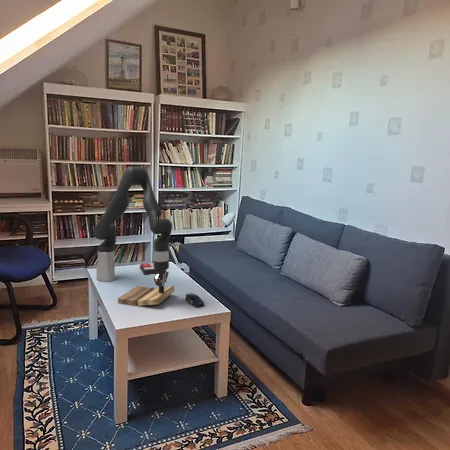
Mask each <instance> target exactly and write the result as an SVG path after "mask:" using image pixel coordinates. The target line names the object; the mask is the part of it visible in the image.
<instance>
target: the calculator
mask: <svg viewBox="0 0 450 450" xmlns="http://www.w3.org/2000/svg"><path fill="white" fill-rule="evenodd" d="M139 270H140V271H141V270H142V271H141V272H142V273H143V275H144V276H150V274H154V275H156V271H157V270H156V269H154V262H151V263H149V262H148V263H141V264H139Z"/></svg>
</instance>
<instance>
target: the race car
mask: <svg viewBox="0 0 450 450" xmlns="http://www.w3.org/2000/svg"><path fill="white" fill-rule="evenodd" d="M184 298H185V302H188V304H190V305H192V306H193V307H194V308H196V309H197V310H202V309H203V306H205V302H204V300H202V299H201V297H200V296H199V295H197V294H195V293H193V292H189V293H185V297H184Z"/></svg>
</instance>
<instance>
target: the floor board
mask: <svg viewBox="0 0 450 450" xmlns="http://www.w3.org/2000/svg"><path fill="white" fill-rule="evenodd" d="M153 289H155V287H147V286H140V285H137V286H135V287H134V288H132V289H130V290H129V291H127V292H126V293H124V294H122V295H121V296H120V297H117V304H120V305H127V306H135V307H138V303H137V301H138V300H139V299H141V298H142V297H144V296H145V295H146V294H148V293H149V292H151V291H152V290H153Z"/></svg>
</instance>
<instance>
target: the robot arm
mask: <svg viewBox="0 0 450 450" xmlns="http://www.w3.org/2000/svg"><path fill="white" fill-rule="evenodd" d="M132 186H140V187H141V188H142V191H143V197H142V206H143V208H144V210H145V213H146V215H147V218H148V223H149V229H150V231H151V232H152V233H153V234H154V235H160V236H159V237H157V238H155V239H154V241H153V263H154V269H156V270H157V271H156V274H155V277H153V280H154V282H155V285H156V286H158V288H159V293H163V292H164V287H165V285H166V283H167V281H168V276H169V271H167V270H168V269H169V268H170V252H169V241H170V238H171V235H172V229H173V224H172V222H171V220H170V219H168V218H161V219H158V218H159V217H161V216H162V213H163V211H162V209H161V206H160V205H159V203H158V201H157V199H156V197H155V194H154V190H153V186H152V184H151V180H150V176H149V174H148V171H147V170H146V168H145V167H142V166H128V167H127V168H126V169H125V170H124V172H123V173H122V176H121V179H120V181H119V184H118V187H117V188H116V191H115V192H114V194H113V196H112V198H111V199H110V202H109V203H108V205H107V207H106V209H105V212H104V213H103V215H102V217H101V218H100V219H99V221H98V222H97V224H96V225H95V226H94V229H93V234H94V237H95V238H96V239H97V240H101V241H102V242H101V243H100V244H99V245H97V263H96V265H95V266H96V267H95V268H96V280H97V281H99V282H102V283H103V282H104V283H105V282H112V281H114V280H115V278H116V275H115V274H116V272H115V271H116V269H115V266H116V265H115V262H116V261H115V260H116V259H115V256H116V254H115V247H116V243H117V228H116V225H115V224H114V222H116V221H117V220H118V219H120V218H121V217H122V216H123V215H124V213H125V212H126V210H127V208H128V207H129V204H130V198H129V191H130V189H131V187H132Z"/></svg>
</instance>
